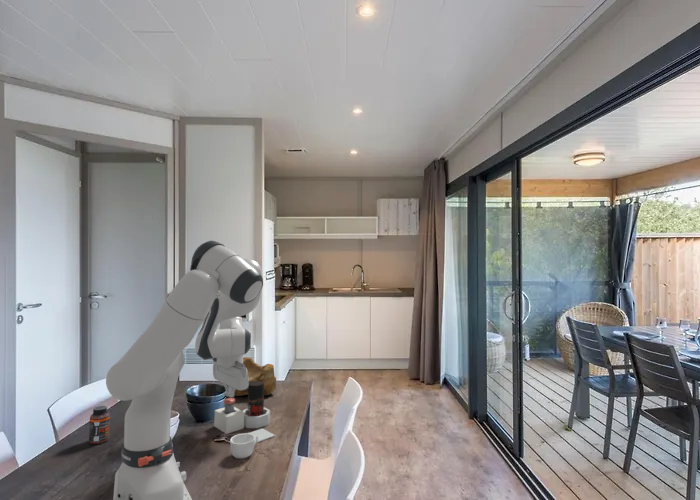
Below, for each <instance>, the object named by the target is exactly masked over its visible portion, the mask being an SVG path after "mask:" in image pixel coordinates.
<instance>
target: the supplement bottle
mask: <svg viewBox="0 0 700 500" xmlns="http://www.w3.org/2000/svg"><path fill="white" fill-rule="evenodd" d="M110 417H111V415H110V412H108V407H107V405H98V406H95V407H93V411H92V414H91V415H90V416H89V431H88V442H89V444H92V445H100V444H103V443H105V442H107V441H108V440H109V439H110V431H111V430H110V425H111V424H110V423H111V422H110V421H111V420H110V419H111V418H110Z"/></svg>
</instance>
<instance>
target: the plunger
mask: <svg viewBox="0 0 700 500" xmlns="http://www.w3.org/2000/svg"><path fill="white" fill-rule="evenodd" d="M223 403H224V407H225V411H224V413H226V414H229V413H233V412H234V407H235V403H236V398H234V397H231V398H230V397H228V398H225V399H223Z"/></svg>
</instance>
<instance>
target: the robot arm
mask: <svg viewBox="0 0 700 500" xmlns="http://www.w3.org/2000/svg"><path fill="white" fill-rule="evenodd" d="M263 286H264V278H263V270H262V266H261V265H260V264H259V263H258V262H257V261H256V260H254V259H251V258H242V256H241V255H239V254H238V253H236V252H235V251H233V250H232V249H230V248H228V247H226V246H225V244H223V243H221V242H218V241H216V240H208V241H206V242H203V243H202V244H200V245H199V246H197V248H196V249H195V251H194V252H193V254H192V258H191V263H190V268H189V271H188V272H186V274H184V275H183V276H182V278H180V280H179V281H178V282H177V284H176V285H175V286H174V288H173V289H172V290H171V291H170V293H169V295H168V296H167V298H166V299H165V300H164V302H163V304H162V305H161V307H160V308H159V310H158V312H157V314H156V315H155V316H154V319H153V320H152V322H151V323H150V324H149V326H147V328H146V329H145V331H144V332H143V333H142V334H141V335H140V336H139V337H138V339H136V341H135V342H134V343H133V344H132V345H131V347H130V348H129V349H128V350H127V351H126V353H125V354H124V355H123V356H122V357H120V359H119V360H118V361H117V362H115V363H114V364H113V365H112V366H111V367H110V369H108V371H107V374H106V375H105V385H106V389H107V391H108V393H109V394H110V395H111V396H112V397H113V398H114V399H116V400H119V401H122V402H123V401H126V402H127V401H130V400H131V403H130V404H129V407H128V408H127V410H126V412H125V414H124V428H123V429H124V431H123V433H124V434H123V438H124V439H123V444H122V447H121V452H120V454H121V461H122V462H121V464H120V466H119V468H118V469H117V470H116V472H115V475H114V487H113V499H112V500H193V499H192V496H191V494H190V493H189V491H188V489H187V487H186V485H185V481H186V480H187V477H188V476H187V471H185V470H183V471H180V465H181V464H180V463H181V462H180V461H176V458H175V454H174V449H173V448H174V445H173V441H172V437H171V417H172V416H171V414H172V405H173V400H174V395H175V392H176V388H177V383H178V380H179V376H180V374H181V372H182V369H183V368H184V365H185V359H186V358H185V353H184V350H185V348H186V347H188V346H189V345H190V343H191V342H192V340H193V339H194V337H195V335H196V334H197V337H196V339H195V342H194V343H195V346H194V348H195V353H196V355H198V357H200V358H201V359H203V360H205V361H206V360H212V361H213V363H212V375H213V376H212V377H213V379H214V380H216V381H219V382H221V383H223V384H224V389H225V395H226V397H228V398H234V397H235V396H234V392H235V390H236V389H237V390H239V391H241V390H245V389H247V388H248V386H249V380H248V371H247V369H246V367H245V366H244V364H243V358H244V355H246V354H247V353H248V352H249V351H250V350H251V348H252V347H251V346H252V345H251V342H252V333H251V332H250V331H248V329H246V328H244V324H243V323H244V322H243V318H242V316H246V315H248V314H250V313H252V312H253V311H254V310H255V309H256V307H258V304H259V301H260V299H261V294H262V290H263ZM218 292H220V293H221V294H220V295H219V296H218V297H217V295H218ZM201 325H202V326H201ZM218 326H219V327H218ZM200 327H201V328H200ZM199 329H200V330H199ZM198 330H199V332H198ZM197 332H198V333H197Z"/></svg>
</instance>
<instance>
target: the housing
mask: <svg viewBox="0 0 700 500" xmlns="http://www.w3.org/2000/svg"><path fill="white" fill-rule="evenodd" d="M224 411H225V406H224V407H221V408H218V409H214V422H213V423H214V427H215V428H217V430H220V431H221V432H223V433H224V434H225V435H226V434H227V435H228V434H230V433H234V432H236V431H239V430H240V431H241V430H243V429H245V428H246V429H261V428H263V427H266V426H268V425H269V424H270V421H271V409H268V408H267V407H265V406H264V415H261V416H248V408H245V409H243V410H241V409H239V408H238V407H236V406H234V412H233V413H229V414H226V413H224Z"/></svg>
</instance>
